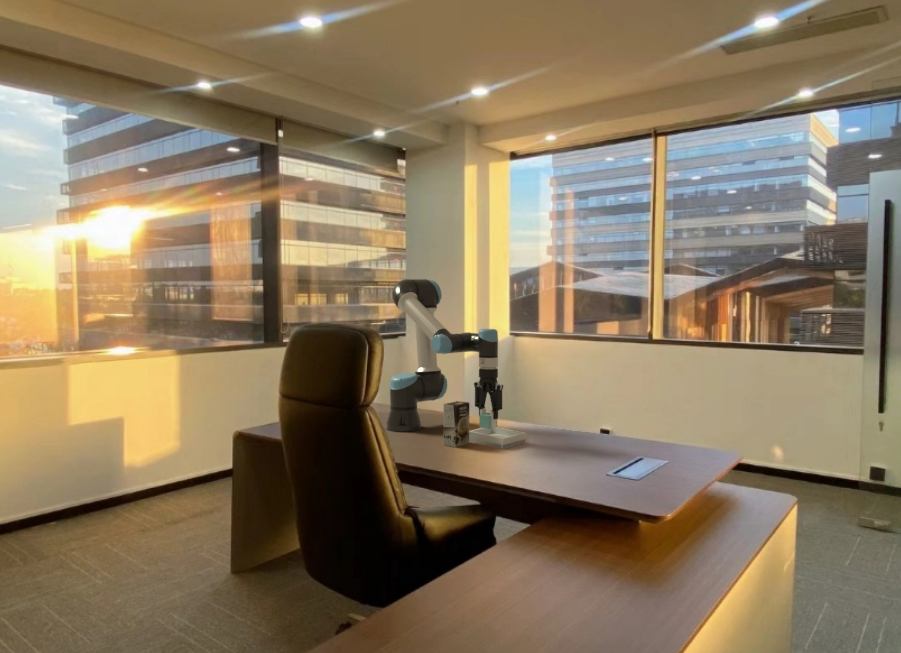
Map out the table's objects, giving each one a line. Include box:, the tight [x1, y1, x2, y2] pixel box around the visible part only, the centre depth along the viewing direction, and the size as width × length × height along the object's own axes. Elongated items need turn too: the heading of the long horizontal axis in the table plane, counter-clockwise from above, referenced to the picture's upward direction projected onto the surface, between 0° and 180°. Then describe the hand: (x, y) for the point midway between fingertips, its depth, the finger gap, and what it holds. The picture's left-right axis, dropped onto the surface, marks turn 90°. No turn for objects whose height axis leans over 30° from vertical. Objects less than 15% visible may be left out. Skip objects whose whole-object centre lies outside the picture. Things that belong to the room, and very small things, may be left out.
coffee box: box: [442, 400, 470, 448], centre depth 243 cm, size 9×6×16 cm
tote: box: [469, 426, 527, 450], centre depth 246 cm, size 18×14×4 cm
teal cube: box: [479, 412, 495, 429], centre depth 249 cm, size 5×5×5 cm
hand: (488, 426), depth 249 cm, fingers closed on teal cube, 5 cm apart
